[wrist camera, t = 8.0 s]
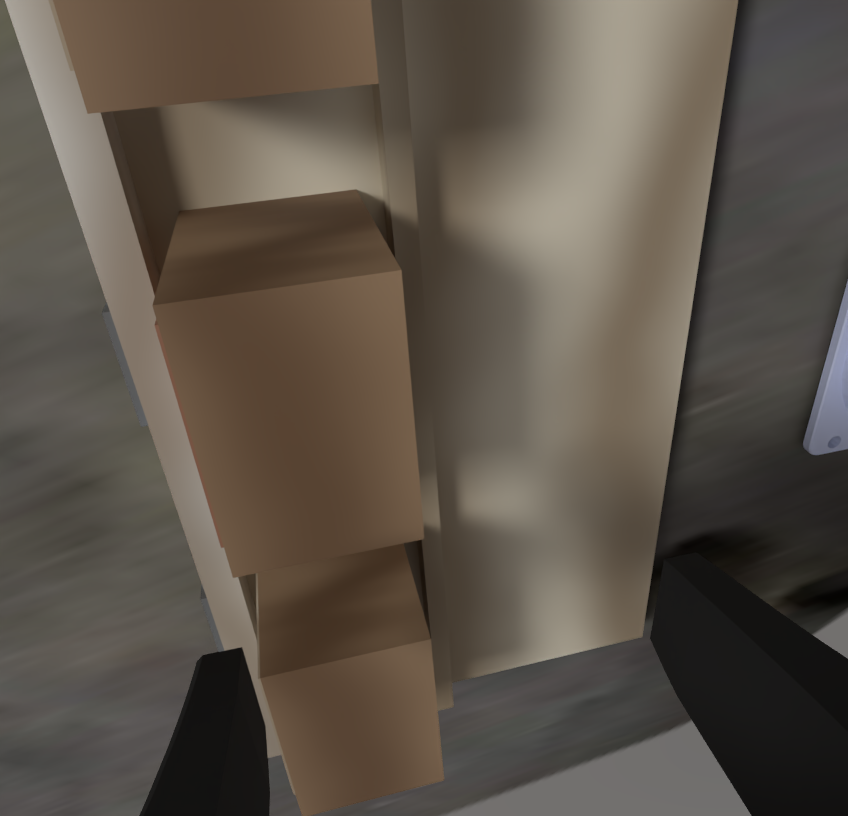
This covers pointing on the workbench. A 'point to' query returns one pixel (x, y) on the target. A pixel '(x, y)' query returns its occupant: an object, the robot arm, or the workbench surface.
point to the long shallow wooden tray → (458, 286)
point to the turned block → (293, 377)
